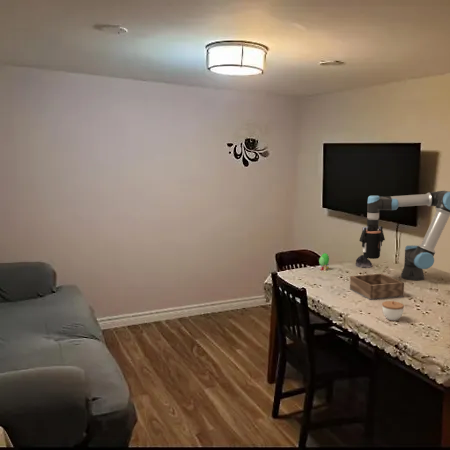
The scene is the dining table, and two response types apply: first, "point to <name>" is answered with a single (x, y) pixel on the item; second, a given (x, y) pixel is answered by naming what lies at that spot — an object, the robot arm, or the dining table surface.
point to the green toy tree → (324, 261)
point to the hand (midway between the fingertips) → (371, 251)
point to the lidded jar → (392, 310)
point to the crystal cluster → (363, 262)
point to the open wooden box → (376, 286)
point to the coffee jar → (372, 244)
